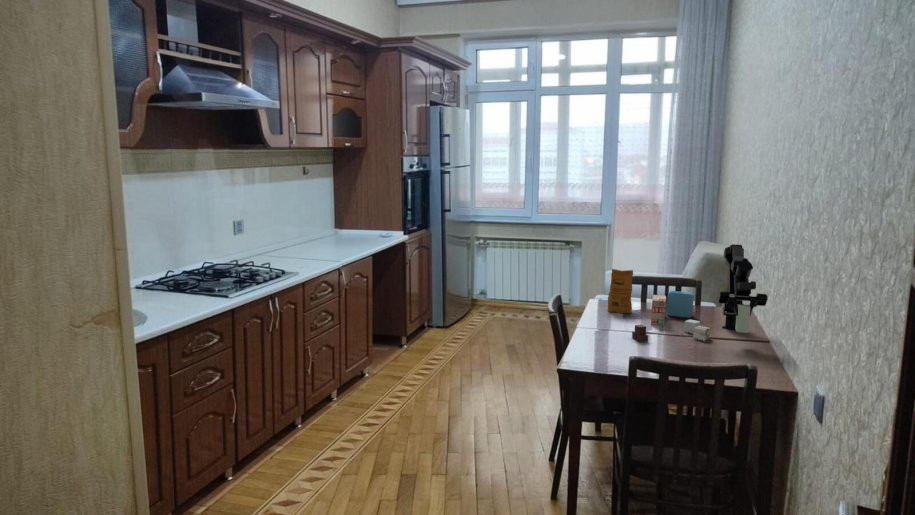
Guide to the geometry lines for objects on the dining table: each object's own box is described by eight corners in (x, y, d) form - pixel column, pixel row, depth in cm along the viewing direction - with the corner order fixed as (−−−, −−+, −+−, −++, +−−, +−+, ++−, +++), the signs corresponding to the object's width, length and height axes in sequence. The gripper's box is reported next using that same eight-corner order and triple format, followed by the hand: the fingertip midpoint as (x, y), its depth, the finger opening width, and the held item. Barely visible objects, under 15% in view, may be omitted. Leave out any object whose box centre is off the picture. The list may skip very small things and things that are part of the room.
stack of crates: (667, 344, 276) (668, 328, 275) (636, 346, 272) (637, 331, 271) (647, 335, 290) (648, 320, 289) (618, 337, 286) (618, 322, 285)
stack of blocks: (651, 314, 326) (652, 290, 324) (664, 315, 324) (665, 291, 322) (650, 325, 306) (652, 299, 304) (664, 326, 304) (666, 300, 302)
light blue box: (692, 316, 324) (694, 292, 322) (691, 317, 319) (693, 294, 318) (667, 313, 328) (669, 290, 326) (666, 315, 324) (668, 292, 322)
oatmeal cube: (698, 336, 286) (698, 325, 285) (709, 338, 283) (710, 327, 282) (693, 338, 283) (693, 327, 282) (704, 341, 279) (705, 329, 278)
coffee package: (608, 308, 339) (610, 267, 336) (633, 310, 334) (635, 268, 331) (605, 312, 330) (607, 270, 326) (630, 314, 325) (632, 271, 322)
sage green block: (735, 329, 274) (737, 304, 273) (746, 330, 273) (748, 304, 272) (736, 331, 270) (738, 306, 268) (748, 332, 269) (750, 307, 267)
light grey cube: (689, 329, 297) (689, 319, 297) (699, 332, 294) (700, 321, 293) (684, 331, 294) (684, 321, 293) (694, 334, 290) (695, 323, 290)
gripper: (721, 272, 274) (722, 303, 265) (768, 275, 269) (771, 306, 260) (717, 287, 283) (718, 317, 274) (763, 289, 278) (766, 320, 269)
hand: (743, 315), depth 269 cm, fingers closed on sage green block, 4 cm apart
